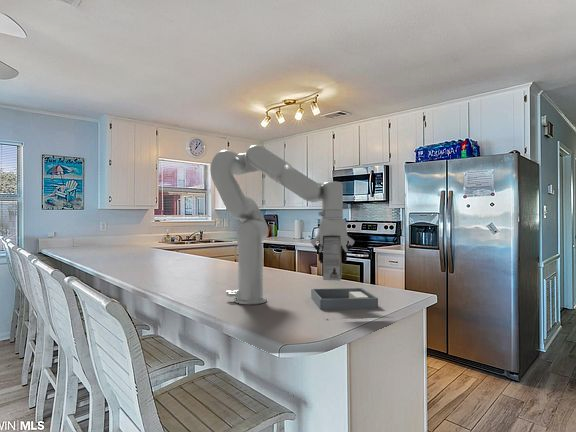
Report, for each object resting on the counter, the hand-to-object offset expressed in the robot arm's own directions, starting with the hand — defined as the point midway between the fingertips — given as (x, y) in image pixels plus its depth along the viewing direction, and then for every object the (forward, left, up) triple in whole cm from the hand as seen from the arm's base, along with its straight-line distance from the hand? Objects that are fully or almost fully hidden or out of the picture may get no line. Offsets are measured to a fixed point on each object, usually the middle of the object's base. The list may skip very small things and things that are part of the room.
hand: (332, 262), depth 135 cm
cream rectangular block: (+10, 0, -15) cm, 18 cm away
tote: (+4, 0, -16) cm, 16 cm away
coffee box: (0, 0, -6) cm, 6 cm away
